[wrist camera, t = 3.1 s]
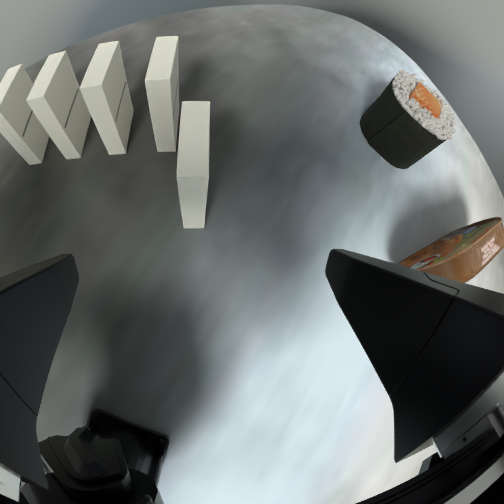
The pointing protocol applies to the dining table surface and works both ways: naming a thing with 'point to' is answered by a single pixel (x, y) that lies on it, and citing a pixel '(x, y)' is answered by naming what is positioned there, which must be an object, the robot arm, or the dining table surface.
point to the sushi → (407, 121)
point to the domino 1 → (21, 117)
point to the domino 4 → (164, 92)
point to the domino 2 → (60, 105)
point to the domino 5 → (193, 162)
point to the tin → (460, 251)
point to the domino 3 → (109, 97)
